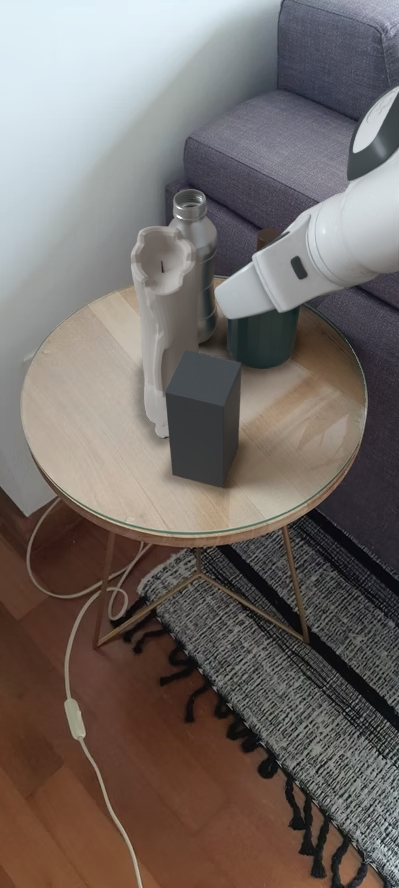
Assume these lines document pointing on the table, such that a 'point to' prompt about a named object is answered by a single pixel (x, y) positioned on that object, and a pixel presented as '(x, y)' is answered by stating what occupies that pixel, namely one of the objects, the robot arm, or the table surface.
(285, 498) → the table surface
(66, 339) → the table surface
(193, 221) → the silver metal bottle
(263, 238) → the rod with orange collar
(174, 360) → the candle
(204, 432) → the stand
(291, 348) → the teal cup
